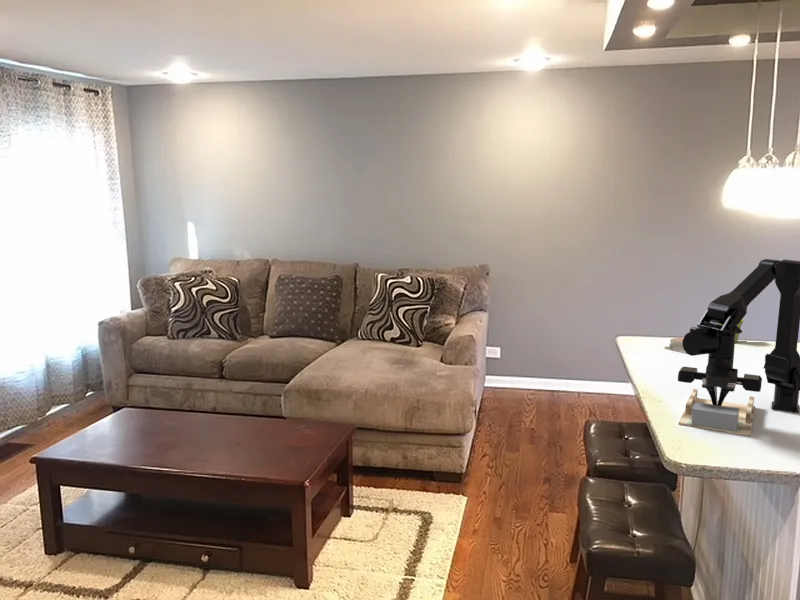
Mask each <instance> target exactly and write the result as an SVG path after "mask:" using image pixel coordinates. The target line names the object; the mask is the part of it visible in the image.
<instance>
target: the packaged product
mask: <svg viewBox="0 0 800 600" xmlns="http://www.w3.org/2000/svg"><path fill="white" fill-rule="evenodd" d="M683 339H684V336H681V337H675V338H672V339H670V340H669V341H670V342H669V345H667V346H664V350H669V351H673V352H677V353H681V354H685V355H688V354H687V353H686V352H685V350H684V348H683V344H682V341H683Z"/></svg>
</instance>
